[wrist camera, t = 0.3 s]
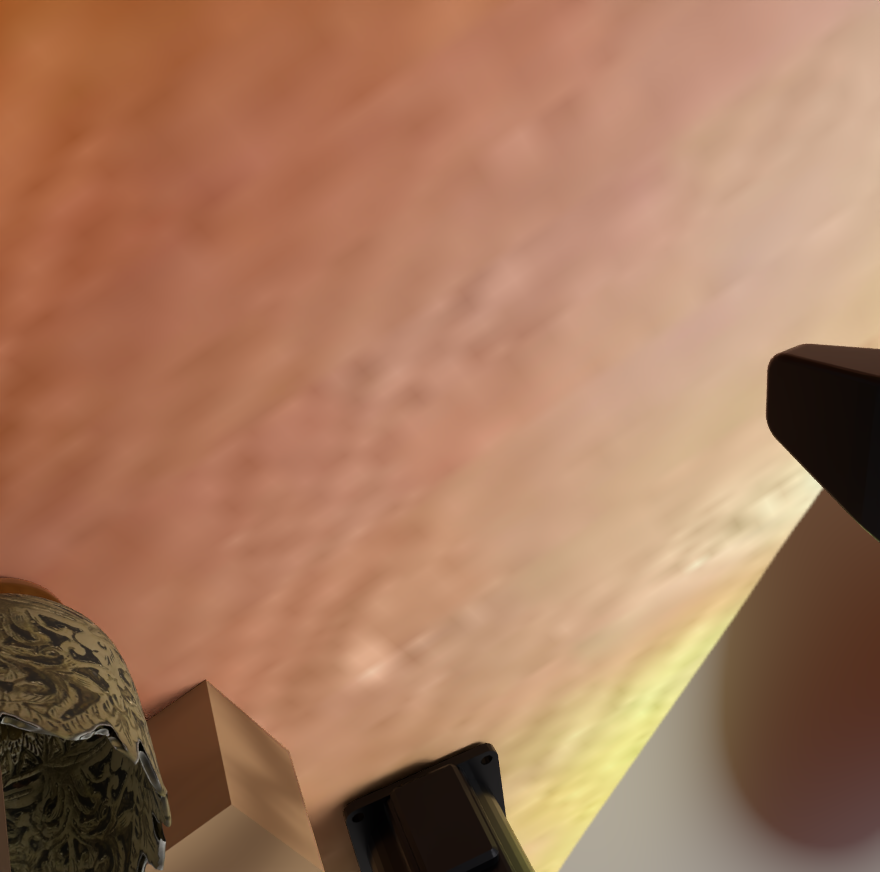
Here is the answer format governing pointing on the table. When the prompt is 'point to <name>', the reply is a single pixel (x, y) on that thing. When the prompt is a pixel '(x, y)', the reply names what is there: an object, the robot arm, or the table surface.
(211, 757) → the walnut block
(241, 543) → the table surface
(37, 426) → the table surface
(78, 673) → the ornate bronze bell
